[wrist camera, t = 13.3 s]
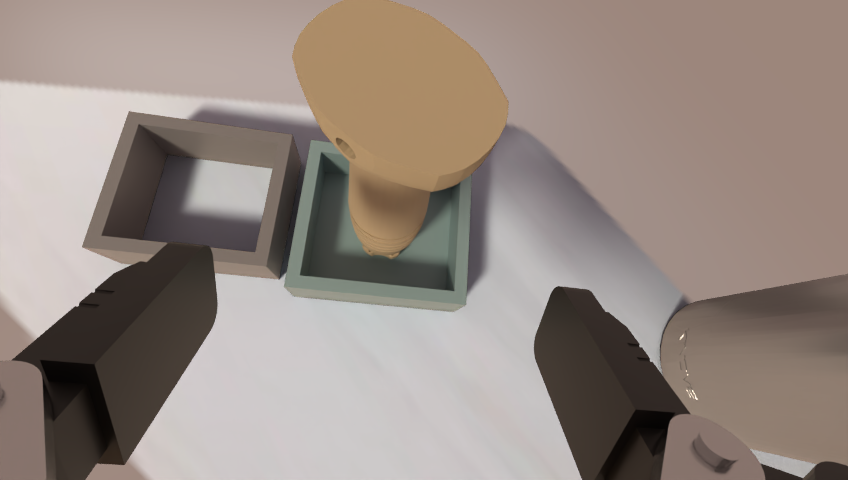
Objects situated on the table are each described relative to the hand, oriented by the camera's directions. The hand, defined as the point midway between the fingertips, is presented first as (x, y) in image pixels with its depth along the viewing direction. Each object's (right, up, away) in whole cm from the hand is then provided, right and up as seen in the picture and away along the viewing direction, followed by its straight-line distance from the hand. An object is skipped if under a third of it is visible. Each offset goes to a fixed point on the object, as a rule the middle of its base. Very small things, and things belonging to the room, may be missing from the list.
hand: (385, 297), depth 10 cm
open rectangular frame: (-12, +3, +16) cm, 20 cm away
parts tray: (-2, +2, +17) cm, 17 cm away
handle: (-2, +2, +16) cm, 16 cm away
